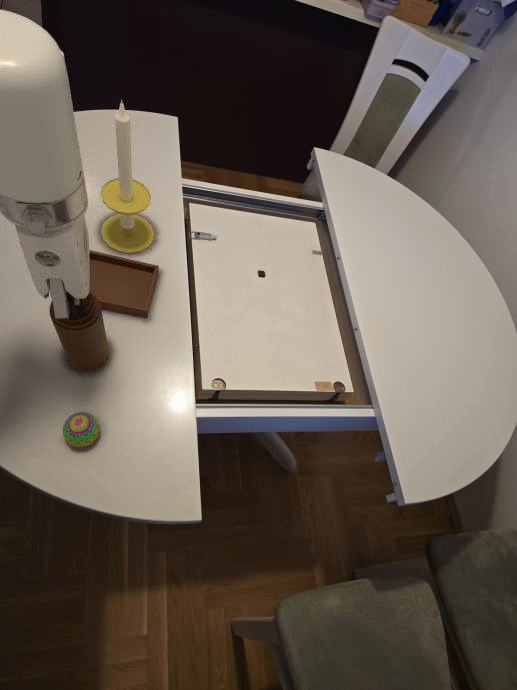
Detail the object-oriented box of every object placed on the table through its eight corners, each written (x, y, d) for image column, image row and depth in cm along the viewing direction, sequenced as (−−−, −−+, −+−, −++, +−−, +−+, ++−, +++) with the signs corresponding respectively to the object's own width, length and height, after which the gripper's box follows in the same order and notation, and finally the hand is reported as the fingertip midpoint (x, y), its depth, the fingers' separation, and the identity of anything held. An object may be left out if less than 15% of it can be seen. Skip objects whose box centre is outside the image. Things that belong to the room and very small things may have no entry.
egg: (68, 417, 59) (61, 405, 54) (102, 417, 60) (99, 405, 55) (63, 450, 57) (55, 440, 52) (99, 449, 58) (95, 440, 53)
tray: (69, 302, 68) (67, 294, 66) (87, 257, 72) (85, 248, 70) (146, 317, 70) (146, 311, 68) (158, 273, 75) (158, 265, 73)
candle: (112, 208, 79) (99, 68, 56) (160, 224, 80) (167, 94, 57) (92, 243, 74) (69, 106, 51) (144, 260, 75) (144, 133, 52)
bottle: (61, 367, 62) (29, 297, 45) (73, 333, 65) (48, 255, 48) (102, 374, 63) (87, 309, 46) (113, 340, 67) (102, 267, 49)
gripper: (86, 264, 32) (105, 356, 48) (86, 130, 39) (102, 249, 55) (-19, 263, 30) (37, 360, 46) (0, 121, 37) (43, 248, 53)
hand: (72, 299), depth 50 cm, fingers closed on cap, 3 cm apart
